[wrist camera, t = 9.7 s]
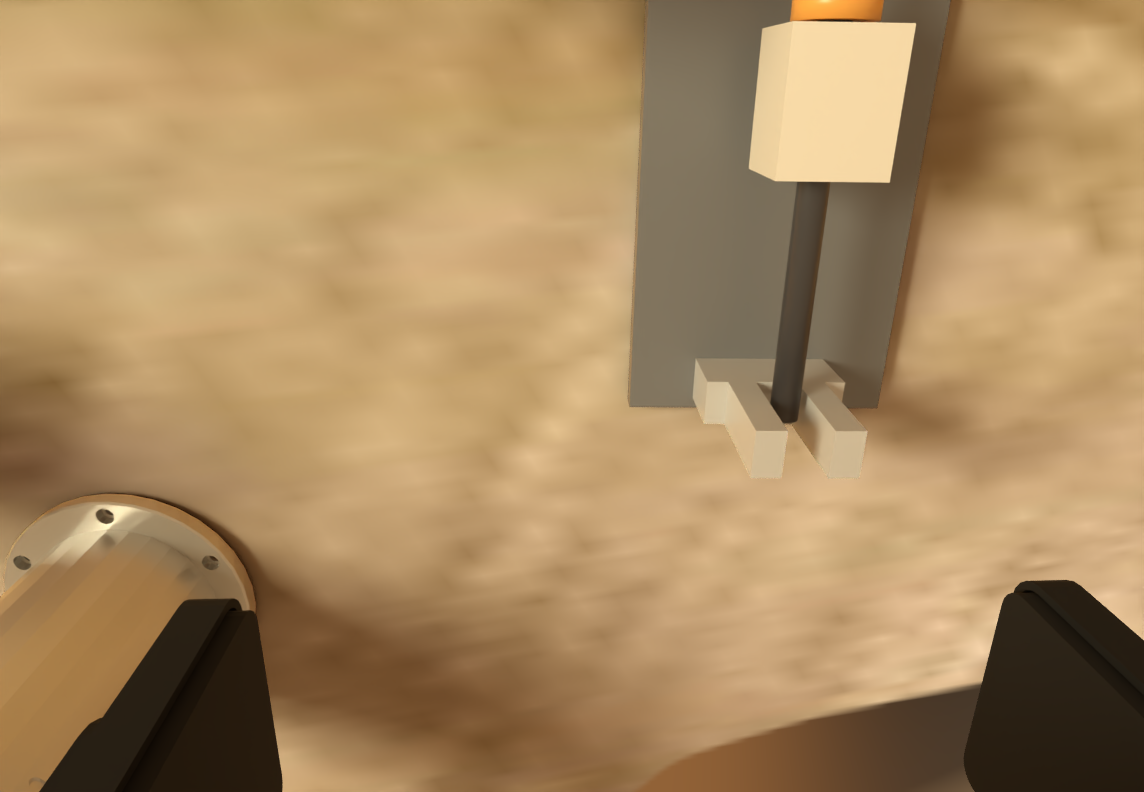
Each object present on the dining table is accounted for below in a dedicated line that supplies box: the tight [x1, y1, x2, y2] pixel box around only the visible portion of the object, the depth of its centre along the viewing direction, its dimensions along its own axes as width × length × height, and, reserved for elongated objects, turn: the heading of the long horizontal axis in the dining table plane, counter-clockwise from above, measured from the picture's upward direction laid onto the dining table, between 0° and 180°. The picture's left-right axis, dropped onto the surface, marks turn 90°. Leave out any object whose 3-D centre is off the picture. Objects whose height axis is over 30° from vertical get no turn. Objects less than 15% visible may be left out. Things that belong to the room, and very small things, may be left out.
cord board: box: [628, 0, 951, 479], centre depth 29 cm, size 24×12×9 cm, turn 179°
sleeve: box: [749, 21, 916, 183], centre depth 28 cm, size 5×4×4 cm
